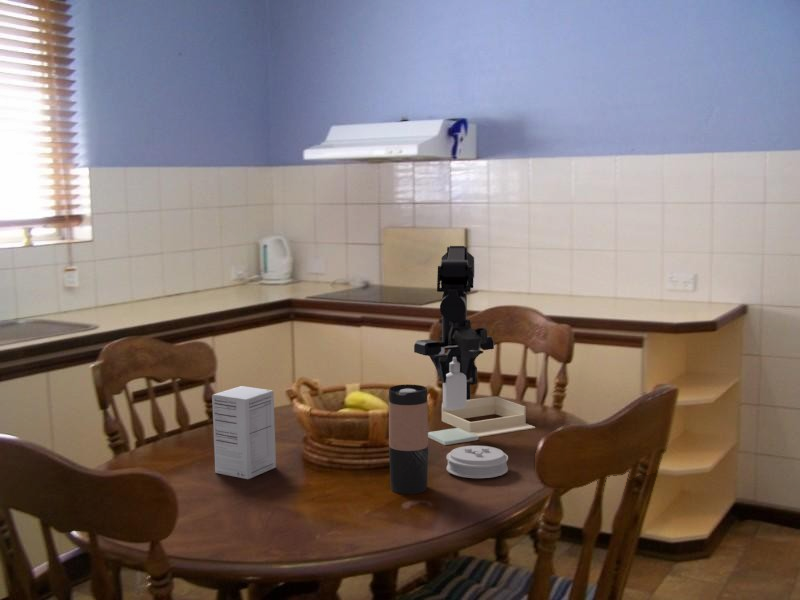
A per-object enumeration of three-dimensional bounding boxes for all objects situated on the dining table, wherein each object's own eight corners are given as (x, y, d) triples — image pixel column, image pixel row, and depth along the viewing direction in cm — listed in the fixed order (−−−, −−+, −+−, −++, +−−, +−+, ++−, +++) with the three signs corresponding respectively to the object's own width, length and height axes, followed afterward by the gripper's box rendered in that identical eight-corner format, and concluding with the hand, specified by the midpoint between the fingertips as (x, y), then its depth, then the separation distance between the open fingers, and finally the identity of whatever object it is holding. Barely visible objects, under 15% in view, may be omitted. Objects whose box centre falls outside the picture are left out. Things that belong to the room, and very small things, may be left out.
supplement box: (243, 461, 206) (241, 385, 203) (277, 467, 201) (275, 389, 199) (213, 473, 197) (210, 393, 195) (247, 480, 193) (245, 398, 191)
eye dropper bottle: (442, 405, 225) (442, 355, 223) (466, 405, 225) (465, 355, 223) (443, 410, 220) (443, 359, 219) (467, 409, 220) (467, 358, 219)
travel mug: (419, 480, 191) (418, 382, 189) (434, 491, 184) (434, 390, 182) (383, 485, 189) (382, 386, 186) (397, 496, 182) (396, 394, 179)
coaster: (425, 435, 224) (425, 432, 224) (458, 430, 229) (458, 427, 229) (445, 445, 217) (445, 441, 217) (478, 439, 221) (478, 436, 221)
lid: (470, 486, 188) (470, 462, 187) (434, 470, 199) (434, 447, 198) (520, 475, 195) (520, 452, 194) (483, 460, 205) (483, 438, 205)
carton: (441, 421, 238) (441, 403, 238) (495, 413, 246) (495, 396, 245) (478, 437, 223) (479, 418, 223) (535, 428, 231) (535, 410, 230)
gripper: (437, 322, 209) (437, 392, 210) (507, 316, 217) (507, 383, 219) (412, 316, 218) (413, 383, 220) (481, 311, 227) (480, 375, 229)
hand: (454, 381), depth 222 cm, fingers closed on eye dropper bottle, 5 cm apart
